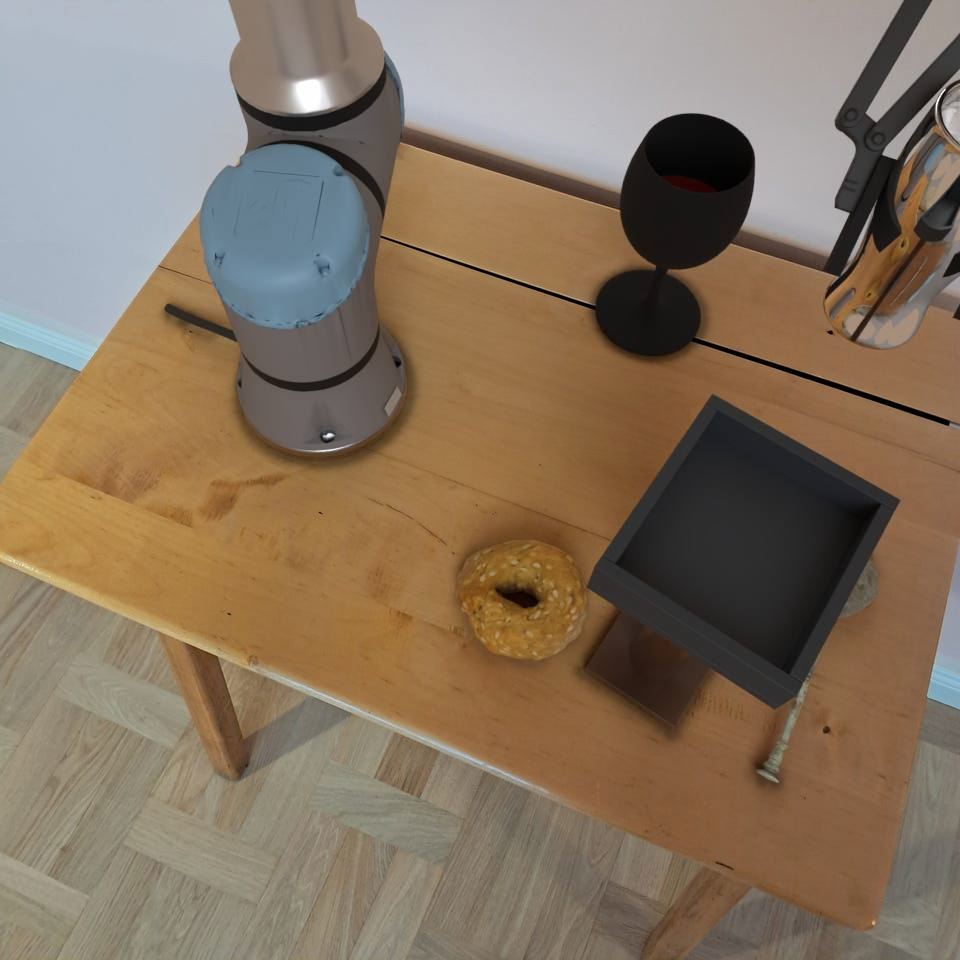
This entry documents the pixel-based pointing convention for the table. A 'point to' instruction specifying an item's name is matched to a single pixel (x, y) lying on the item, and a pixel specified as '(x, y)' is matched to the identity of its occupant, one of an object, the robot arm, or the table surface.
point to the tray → (745, 550)
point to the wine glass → (675, 227)
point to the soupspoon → (855, 603)
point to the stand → (647, 670)
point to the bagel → (533, 573)
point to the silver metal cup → (906, 238)
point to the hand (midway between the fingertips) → (897, 297)
